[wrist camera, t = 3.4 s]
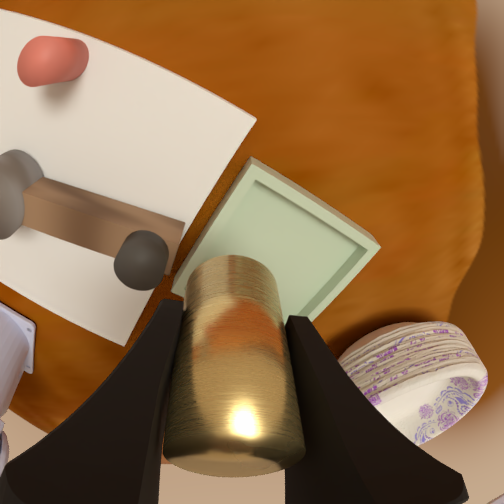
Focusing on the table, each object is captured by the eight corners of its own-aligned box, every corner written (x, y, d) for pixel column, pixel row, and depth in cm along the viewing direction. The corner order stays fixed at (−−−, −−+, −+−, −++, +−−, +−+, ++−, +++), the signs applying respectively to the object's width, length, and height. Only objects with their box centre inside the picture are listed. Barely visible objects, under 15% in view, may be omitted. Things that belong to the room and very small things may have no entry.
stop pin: (250, 335, 12) (260, 481, 7) (173, 307, 11) (148, 463, 6) (294, 276, 11) (335, 441, 6) (208, 240, 10) (190, 418, 5)
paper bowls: (296, 320, 23) (316, 413, 16) (467, 277, 22) (516, 342, 15) (308, 412, 31) (320, 476, 24) (433, 377, 30) (457, 432, 23)
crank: (-7, 206, 15) (-41, 235, 12) (-5, 143, 13) (-46, 165, 10) (170, 267, 18) (159, 312, 15) (191, 203, 16) (181, 240, 13)
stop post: (77, 87, 13) (45, 93, 10) (45, 73, 12) (10, 78, 9) (96, 46, 12) (67, 43, 9) (63, 33, 11) (30, 30, 8)
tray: (288, 327, 23) (291, 342, 22) (174, 277, 20) (170, 291, 19) (372, 235, 19) (380, 247, 18) (250, 155, 16) (252, 163, 15)
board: (126, 339, 23) (124, 346, 22) (-69, 223, 16) (-74, 227, 15) (255, 117, 15) (256, 119, 14) (-27, 3, 8) (-35, 2, 7)
